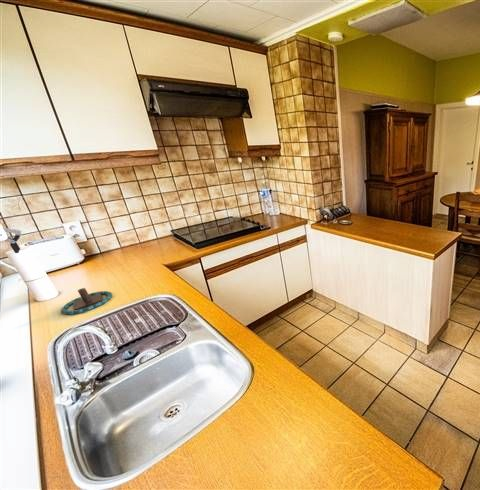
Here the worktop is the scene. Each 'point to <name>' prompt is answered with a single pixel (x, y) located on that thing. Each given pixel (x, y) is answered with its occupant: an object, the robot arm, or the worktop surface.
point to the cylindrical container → (32, 273)
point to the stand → (86, 299)
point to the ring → (65, 311)
